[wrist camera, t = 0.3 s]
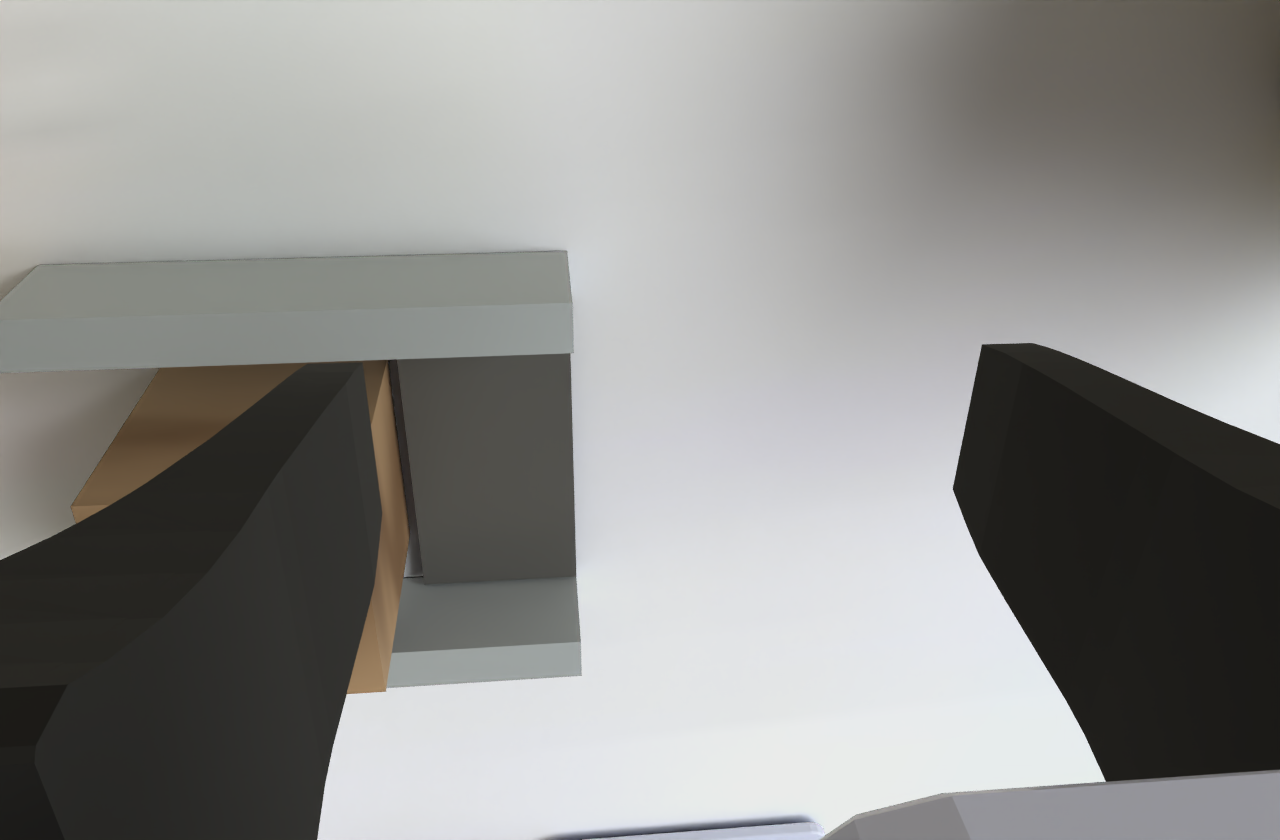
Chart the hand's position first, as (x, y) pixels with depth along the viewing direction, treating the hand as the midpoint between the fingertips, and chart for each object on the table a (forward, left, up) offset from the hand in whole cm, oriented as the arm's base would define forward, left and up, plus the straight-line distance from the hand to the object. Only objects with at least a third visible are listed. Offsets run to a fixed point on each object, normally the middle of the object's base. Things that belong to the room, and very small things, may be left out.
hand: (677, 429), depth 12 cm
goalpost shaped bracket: (-6, +6, -9) cm, 12 cm away
